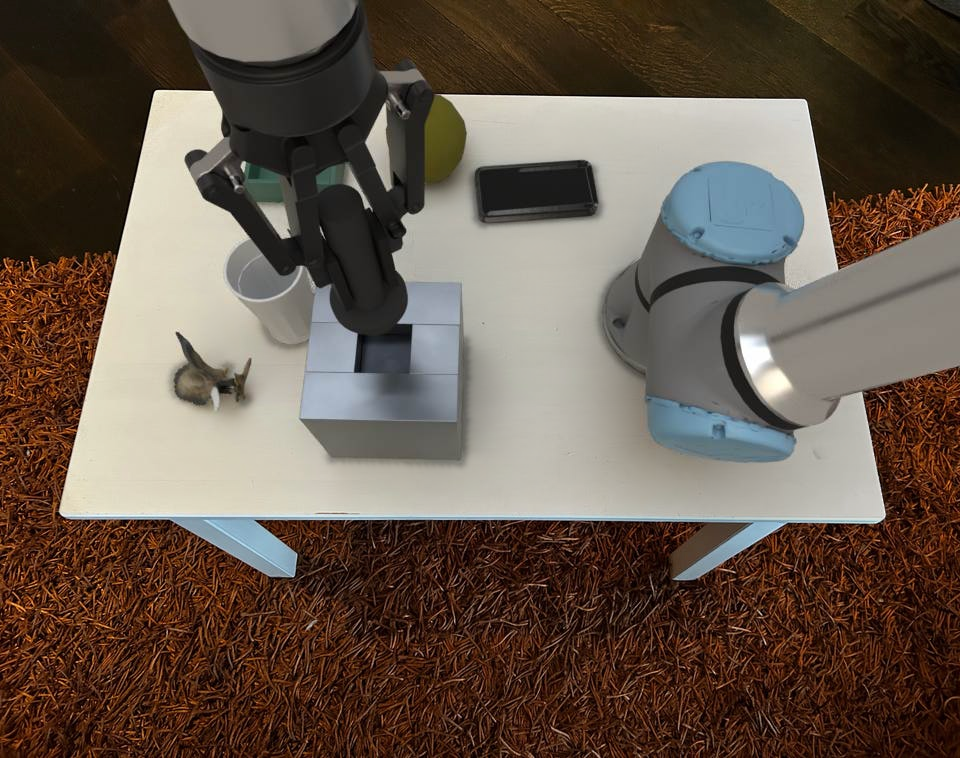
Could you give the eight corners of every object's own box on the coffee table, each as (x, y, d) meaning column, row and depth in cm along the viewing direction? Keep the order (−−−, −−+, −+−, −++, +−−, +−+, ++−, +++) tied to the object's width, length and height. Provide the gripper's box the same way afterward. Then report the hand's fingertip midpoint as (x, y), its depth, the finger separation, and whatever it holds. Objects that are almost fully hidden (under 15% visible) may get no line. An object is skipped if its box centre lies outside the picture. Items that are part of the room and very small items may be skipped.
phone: (599, 209, 81) (479, 217, 80) (597, 215, 82) (479, 223, 81) (590, 158, 84) (474, 165, 83) (588, 164, 85) (474, 171, 84)
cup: (317, 356, 75) (289, 308, 64) (251, 343, 75) (211, 293, 64) (336, 296, 78) (312, 240, 66) (272, 284, 78) (238, 226, 67)
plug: (424, 302, 54) (405, 188, 40) (385, 360, 52) (351, 262, 38) (364, 270, 55) (325, 149, 41) (323, 326, 53) (268, 218, 39)
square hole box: (464, 342, 76) (461, 282, 62) (460, 460, 70) (457, 421, 57) (343, 340, 76) (316, 279, 62) (331, 457, 70) (298, 418, 57)
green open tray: (347, 139, 86) (342, 117, 82) (340, 203, 82) (334, 184, 79) (263, 137, 86) (254, 116, 82) (252, 201, 82) (242, 182, 79)
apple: (471, 192, 83) (471, 131, 73) (395, 201, 82) (384, 140, 72) (461, 131, 87) (459, 64, 76) (388, 138, 86) (377, 72, 76)
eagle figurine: (264, 351, 74) (188, 323, 73) (242, 364, 67) (156, 334, 66) (247, 411, 75) (171, 385, 75) (222, 430, 68) (139, 401, 68)
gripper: (401, -111, 30) (434, 204, 52) (55, 18, 27) (246, 293, 49) (484, -8, 27) (482, 275, 49) (114, 145, 24) (287, 374, 46)
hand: (364, 284), depth 49 cm, fingers closed on plug, 3 cm apart
